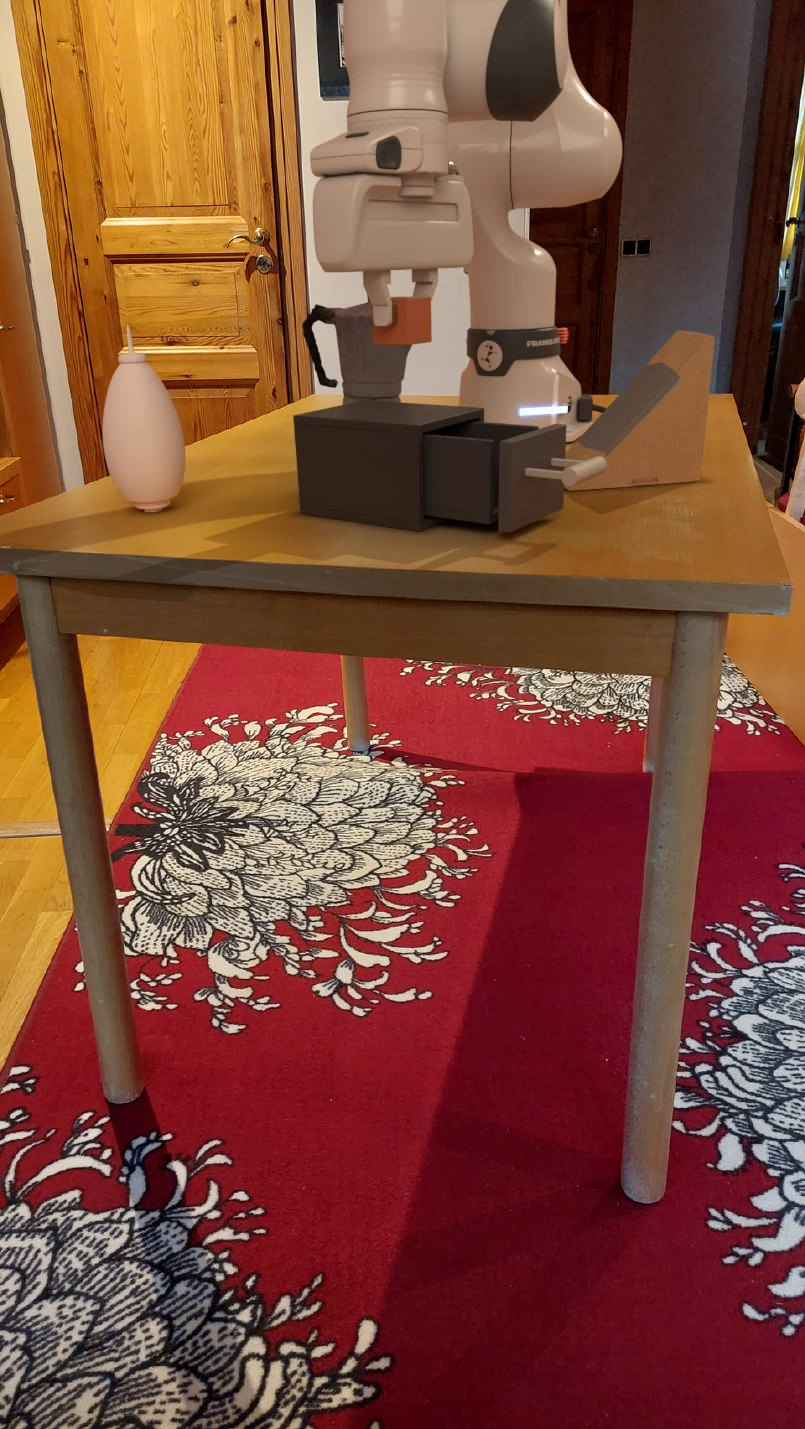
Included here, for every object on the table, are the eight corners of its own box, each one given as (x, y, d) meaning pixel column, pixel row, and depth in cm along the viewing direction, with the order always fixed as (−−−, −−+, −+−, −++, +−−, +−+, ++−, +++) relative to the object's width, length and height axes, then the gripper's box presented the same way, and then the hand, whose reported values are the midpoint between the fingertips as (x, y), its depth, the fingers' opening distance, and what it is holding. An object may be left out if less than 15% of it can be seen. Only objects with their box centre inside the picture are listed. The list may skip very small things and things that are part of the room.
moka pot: (421, 468, 118) (417, 287, 109) (298, 467, 121) (285, 290, 112) (435, 453, 126) (432, 284, 117) (319, 452, 129) (309, 287, 120)
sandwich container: (541, 475, 112) (545, 335, 105) (666, 466, 114) (677, 329, 108) (567, 491, 104) (574, 341, 98) (701, 481, 107) (715, 334, 100)
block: (397, 341, 96) (396, 296, 94) (431, 342, 93) (431, 296, 92) (373, 344, 93) (371, 298, 91) (407, 345, 90) (406, 298, 89)
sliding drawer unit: (614, 514, 91) (619, 428, 88) (563, 540, 83) (567, 447, 80) (444, 493, 101) (443, 415, 98) (385, 515, 93) (382, 431, 90)
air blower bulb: (100, 518, 100) (69, 328, 92) (138, 500, 106) (112, 322, 99) (169, 521, 98) (143, 327, 90) (204, 503, 104) (183, 321, 97)
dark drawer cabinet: (483, 506, 99) (484, 408, 95) (420, 531, 91) (417, 425, 87) (368, 491, 107) (364, 400, 103) (300, 513, 99) (292, 415, 95)
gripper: (434, 165, 96) (436, 317, 102) (295, 151, 81) (307, 331, 87) (490, 159, 92) (488, 317, 98) (356, 144, 77) (363, 332, 83)
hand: (402, 324), depth 92 cm, fingers closed on block, 4 cm apart
